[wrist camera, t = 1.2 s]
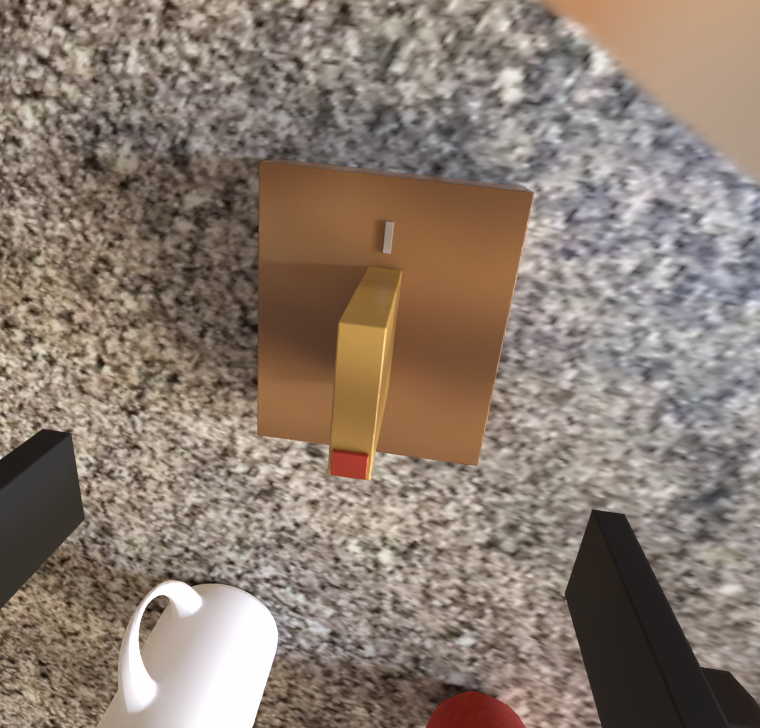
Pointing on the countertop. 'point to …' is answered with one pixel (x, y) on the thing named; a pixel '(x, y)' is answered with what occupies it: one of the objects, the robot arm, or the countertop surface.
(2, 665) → the countertop surface
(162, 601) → the countertop surface
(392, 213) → the plate
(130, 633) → the mug
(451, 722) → the apple
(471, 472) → the countertop surface
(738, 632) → the countertop surface
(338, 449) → the thumbturn
